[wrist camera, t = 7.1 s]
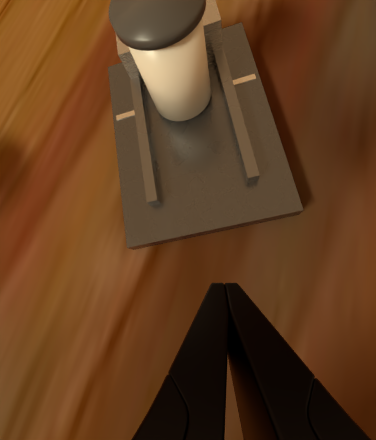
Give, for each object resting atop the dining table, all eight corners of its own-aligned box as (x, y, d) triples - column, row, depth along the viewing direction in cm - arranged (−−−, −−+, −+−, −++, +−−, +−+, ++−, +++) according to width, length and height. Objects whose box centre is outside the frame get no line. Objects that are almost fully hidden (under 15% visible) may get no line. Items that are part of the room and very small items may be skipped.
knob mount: (298, 214, 21) (321, 193, 15) (133, 249, 23) (104, 241, 18) (241, 35, 26) (243, -24, 21) (114, 77, 29) (87, 33, 23)
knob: (221, 113, 22) (214, 17, 14) (156, 132, 23) (113, 52, 15) (207, 61, 24) (194, -52, 16) (147, 80, 25) (105, -18, 17)
